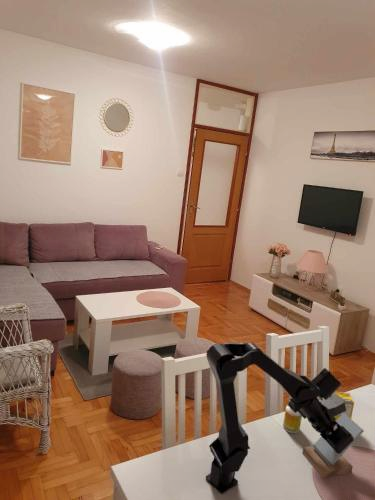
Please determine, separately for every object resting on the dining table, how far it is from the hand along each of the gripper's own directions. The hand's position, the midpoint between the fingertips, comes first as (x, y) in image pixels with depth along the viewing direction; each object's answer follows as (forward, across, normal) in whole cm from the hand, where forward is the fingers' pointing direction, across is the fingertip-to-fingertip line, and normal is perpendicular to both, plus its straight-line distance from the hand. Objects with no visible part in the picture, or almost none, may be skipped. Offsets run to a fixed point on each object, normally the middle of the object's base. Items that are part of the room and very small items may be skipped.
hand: (335, 439), depth 116 cm
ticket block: (+4, 0, +7) cm, 8 cm away
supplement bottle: (+3, +16, +8) cm, 18 cm away
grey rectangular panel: (+2, 0, +7) cm, 7 cm away
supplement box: (+15, +15, -5) cm, 22 cm away
